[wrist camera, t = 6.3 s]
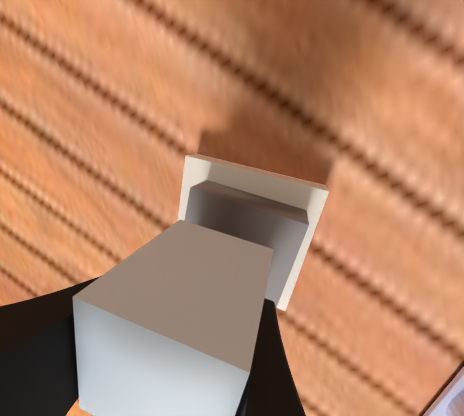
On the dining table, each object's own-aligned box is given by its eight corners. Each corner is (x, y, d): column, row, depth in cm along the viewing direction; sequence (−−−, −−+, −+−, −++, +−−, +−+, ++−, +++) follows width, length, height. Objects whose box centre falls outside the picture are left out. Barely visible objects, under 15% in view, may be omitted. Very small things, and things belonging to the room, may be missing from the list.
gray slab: (306, 210, 13) (309, 224, 11) (274, 294, 16) (270, 321, 13) (207, 179, 14) (190, 187, 12) (190, 262, 17) (173, 282, 14)
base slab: (323, 182, 15) (329, 191, 13) (286, 288, 18) (285, 310, 16) (200, 153, 17) (185, 155, 14) (186, 254, 20) (171, 270, 17)
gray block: (273, 249, 10) (249, 372, 5) (249, 324, 11) (212, 478, 6) (180, 219, 10) (72, 296, 5) (170, 293, 12) (79, 408, 7)
